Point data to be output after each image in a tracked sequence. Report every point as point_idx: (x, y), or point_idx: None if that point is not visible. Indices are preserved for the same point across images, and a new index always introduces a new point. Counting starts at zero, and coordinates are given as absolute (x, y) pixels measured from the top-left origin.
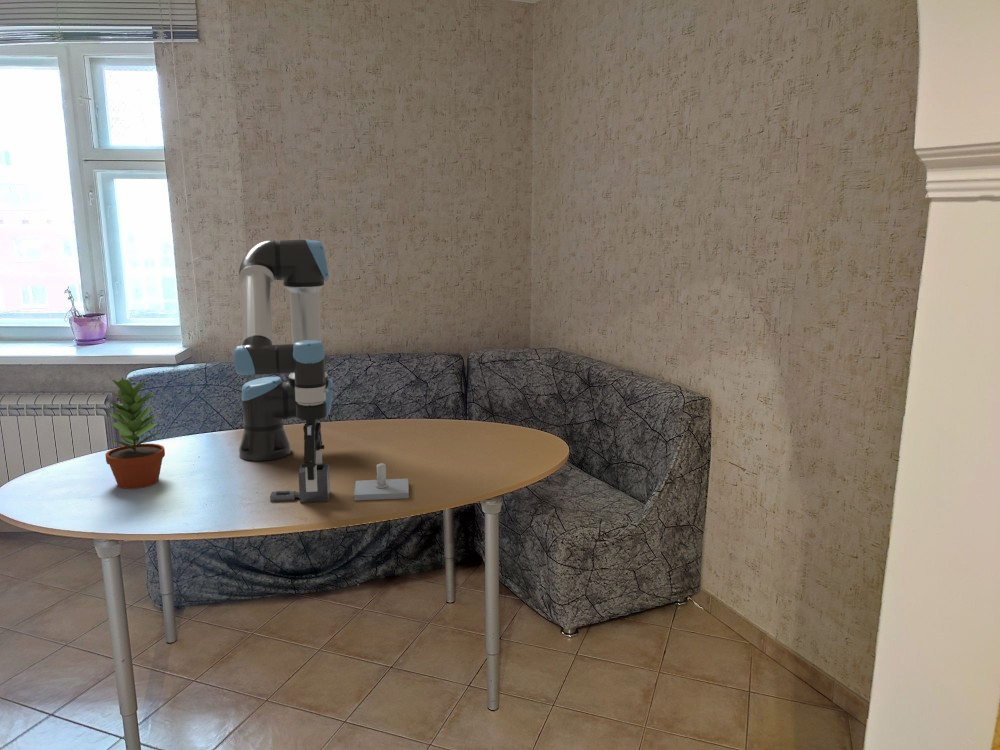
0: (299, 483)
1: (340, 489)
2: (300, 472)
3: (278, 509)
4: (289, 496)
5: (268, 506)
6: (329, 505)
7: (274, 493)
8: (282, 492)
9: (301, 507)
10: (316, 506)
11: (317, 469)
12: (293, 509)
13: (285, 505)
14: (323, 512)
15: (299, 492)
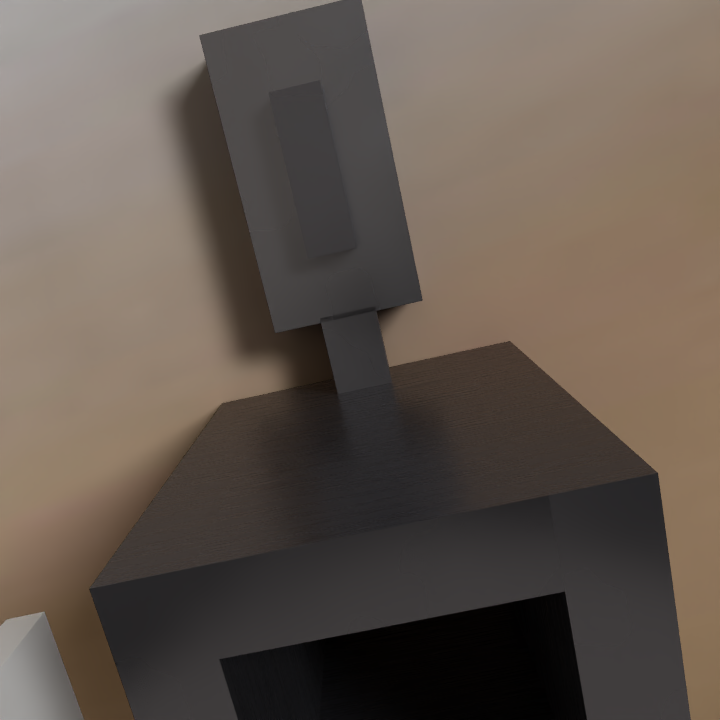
0: (158, 500)
1: None
2: (116, 619)
3: (4, 244)
4: (264, 277)
5: (64, 94)
6: None
7: (302, 58)
8: (290, 175)
9: (105, 459)
10: None
11: (571, 708)
12: (37, 399)
13: (128, 277)
14: None
15: (194, 443)
